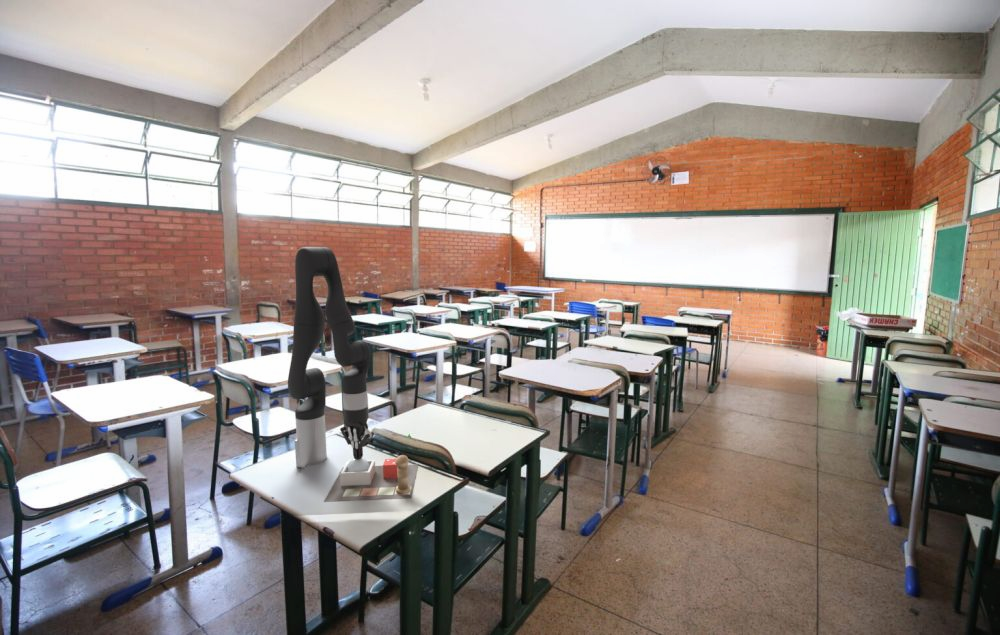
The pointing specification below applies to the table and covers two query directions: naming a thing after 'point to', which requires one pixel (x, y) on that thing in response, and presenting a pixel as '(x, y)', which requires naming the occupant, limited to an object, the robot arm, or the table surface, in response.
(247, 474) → the table surface
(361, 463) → the white ball
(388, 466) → the die
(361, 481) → the housing
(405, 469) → the pawn
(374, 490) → the board
